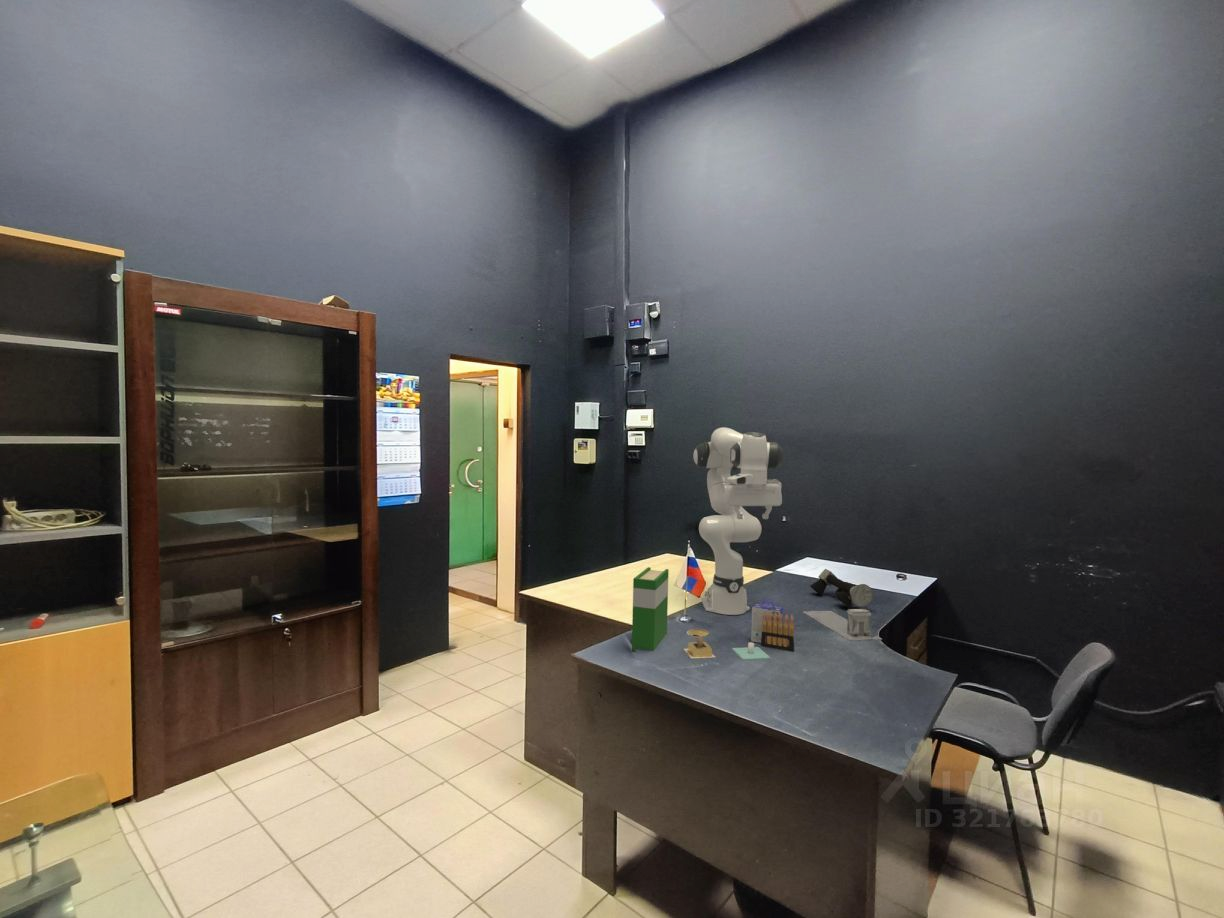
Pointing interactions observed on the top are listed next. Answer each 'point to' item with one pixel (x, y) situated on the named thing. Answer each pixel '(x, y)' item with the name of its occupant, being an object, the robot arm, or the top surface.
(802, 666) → the top surface
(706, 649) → the tan tray
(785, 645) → the ammunition clip
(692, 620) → the top surface
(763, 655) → the mint green base plate
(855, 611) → the triumphal arch model
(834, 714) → the top surface
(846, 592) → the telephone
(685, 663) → the top surface
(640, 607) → the hardback book
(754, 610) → the ink cartridge box
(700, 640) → the stand
